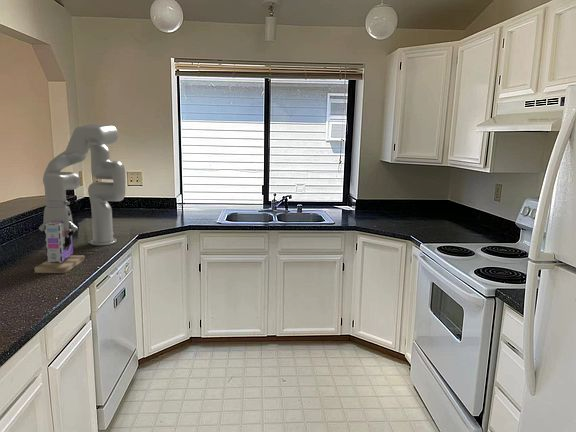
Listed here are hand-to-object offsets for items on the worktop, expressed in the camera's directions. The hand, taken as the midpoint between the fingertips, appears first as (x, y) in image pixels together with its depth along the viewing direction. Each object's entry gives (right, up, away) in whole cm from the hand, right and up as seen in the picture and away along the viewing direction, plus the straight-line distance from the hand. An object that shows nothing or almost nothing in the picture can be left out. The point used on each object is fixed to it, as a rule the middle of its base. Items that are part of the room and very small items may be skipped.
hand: (59, 245), depth 173 cm
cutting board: (0, -9, +2) cm, 9 cm away
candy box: (0, -6, +1) cm, 6 cm away
